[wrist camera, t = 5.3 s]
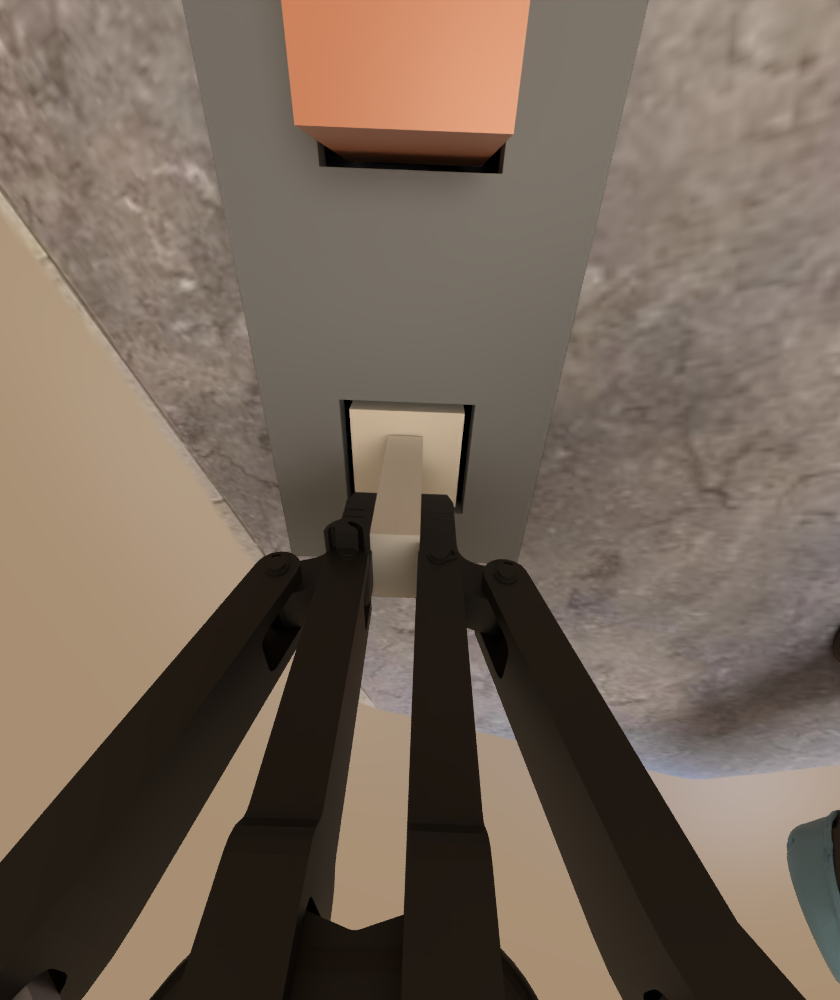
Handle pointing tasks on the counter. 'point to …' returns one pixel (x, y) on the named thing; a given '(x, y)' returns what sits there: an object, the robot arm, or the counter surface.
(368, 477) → the cream cube
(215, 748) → the robot arm
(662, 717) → the counter surface
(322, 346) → the block
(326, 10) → the terracotta plug
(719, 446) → the counter surface
